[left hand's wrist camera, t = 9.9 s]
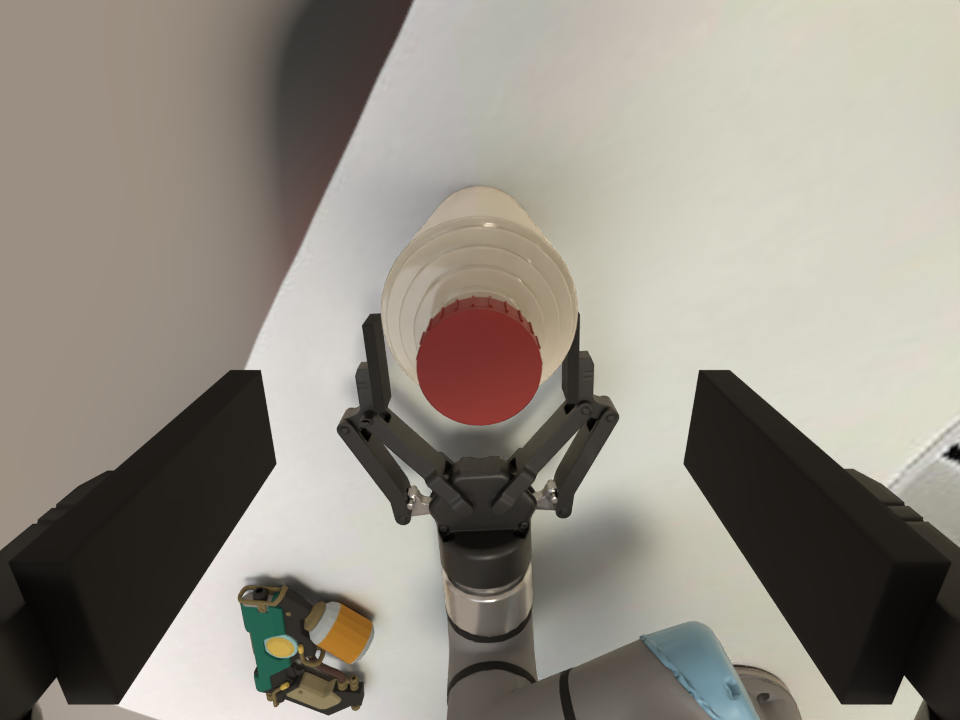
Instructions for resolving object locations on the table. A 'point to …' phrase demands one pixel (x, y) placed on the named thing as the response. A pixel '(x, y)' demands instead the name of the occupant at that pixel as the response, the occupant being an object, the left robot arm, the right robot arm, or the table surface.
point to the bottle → (479, 275)
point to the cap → (479, 361)
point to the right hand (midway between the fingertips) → (470, 313)
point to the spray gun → (304, 647)
